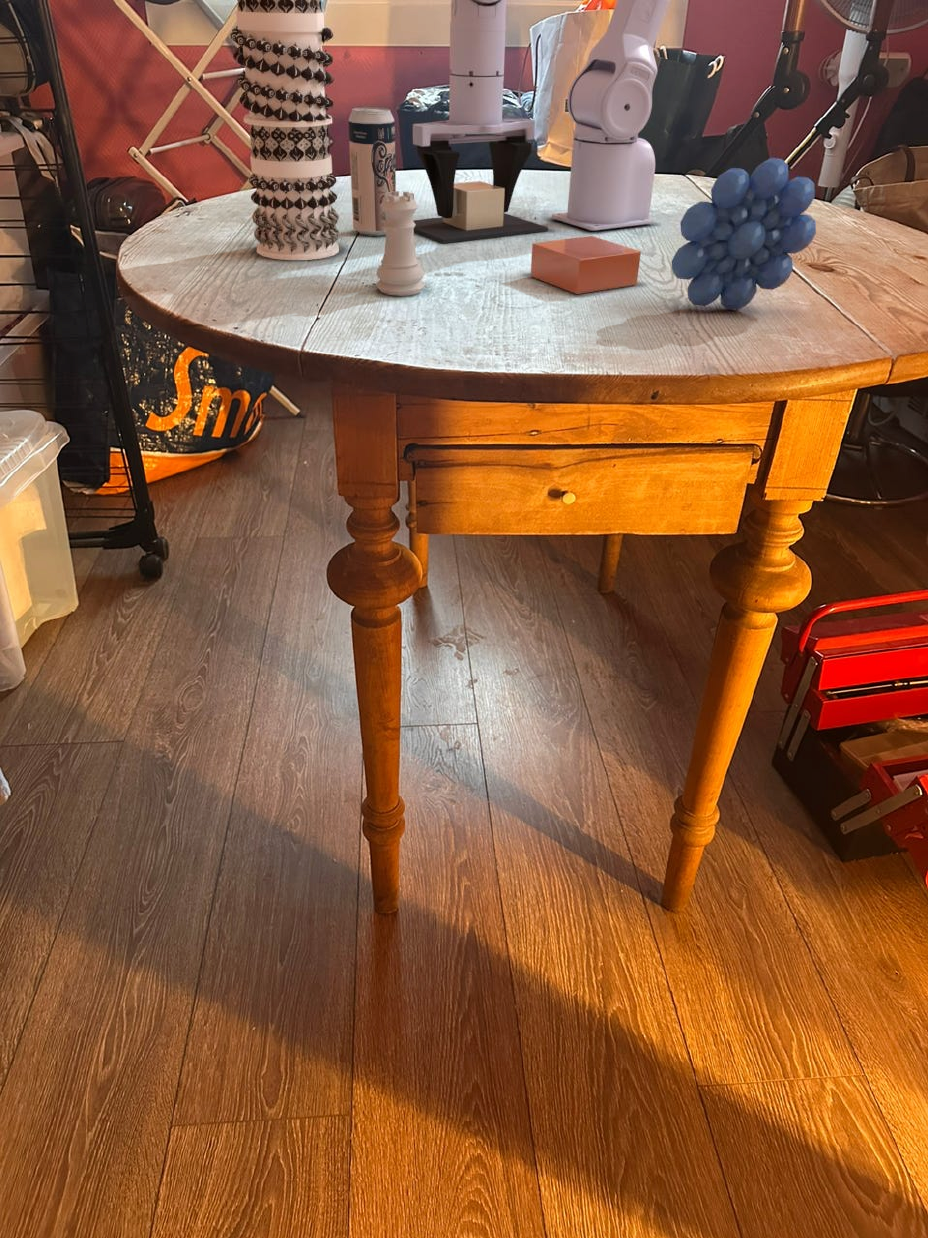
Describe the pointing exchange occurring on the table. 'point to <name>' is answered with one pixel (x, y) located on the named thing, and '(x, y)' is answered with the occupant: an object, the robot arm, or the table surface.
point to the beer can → (371, 167)
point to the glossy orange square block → (585, 264)
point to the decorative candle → (288, 126)
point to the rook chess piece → (399, 248)
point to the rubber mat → (450, 233)
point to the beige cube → (477, 206)
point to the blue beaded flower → (745, 234)
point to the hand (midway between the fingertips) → (473, 213)
